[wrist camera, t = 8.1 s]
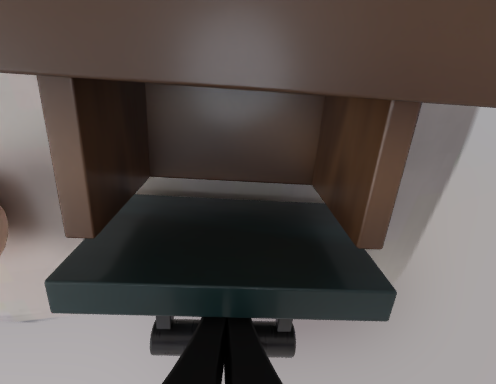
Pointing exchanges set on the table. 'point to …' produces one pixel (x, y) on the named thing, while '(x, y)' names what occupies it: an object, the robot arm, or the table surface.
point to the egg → (3, 229)
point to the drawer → (222, 205)
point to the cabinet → (264, 45)
